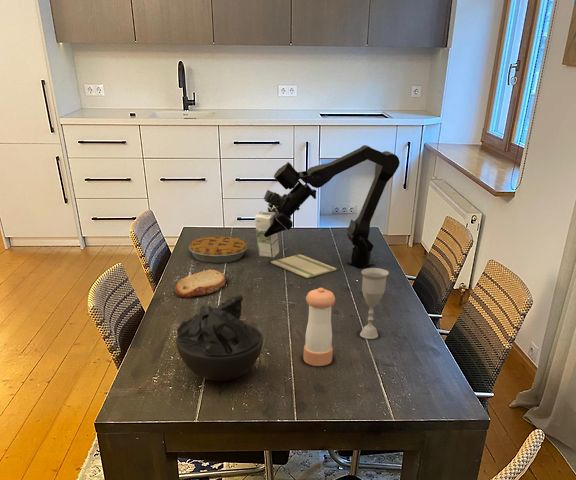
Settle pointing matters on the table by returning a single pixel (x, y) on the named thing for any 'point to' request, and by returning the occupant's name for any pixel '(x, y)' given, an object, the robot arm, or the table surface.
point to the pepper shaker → (319, 328)
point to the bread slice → (200, 284)
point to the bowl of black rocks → (219, 342)
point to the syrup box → (265, 244)
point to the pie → (218, 249)
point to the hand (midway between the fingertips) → (262, 232)
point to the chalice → (372, 296)
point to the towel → (303, 266)
